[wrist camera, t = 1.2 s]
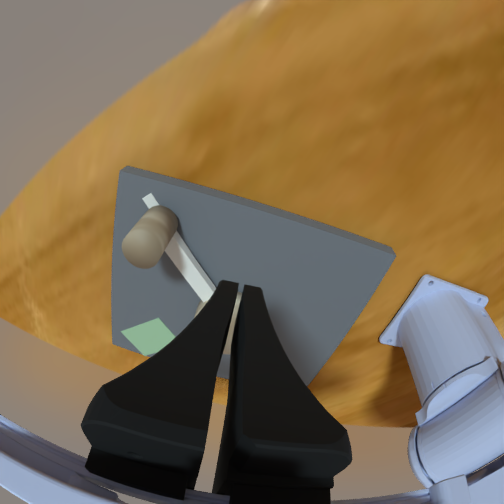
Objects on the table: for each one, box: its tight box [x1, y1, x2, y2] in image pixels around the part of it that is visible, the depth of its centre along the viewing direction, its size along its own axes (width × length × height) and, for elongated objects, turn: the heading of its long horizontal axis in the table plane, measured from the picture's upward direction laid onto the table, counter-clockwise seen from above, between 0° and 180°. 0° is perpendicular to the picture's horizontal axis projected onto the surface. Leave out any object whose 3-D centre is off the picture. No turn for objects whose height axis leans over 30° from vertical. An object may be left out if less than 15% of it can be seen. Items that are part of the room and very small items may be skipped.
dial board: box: [111, 166, 396, 386], centre depth 25 cm, size 20×18×1 cm
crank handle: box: [122, 205, 242, 354], centre depth 21 cm, size 13×5×4 cm, turn 28°
